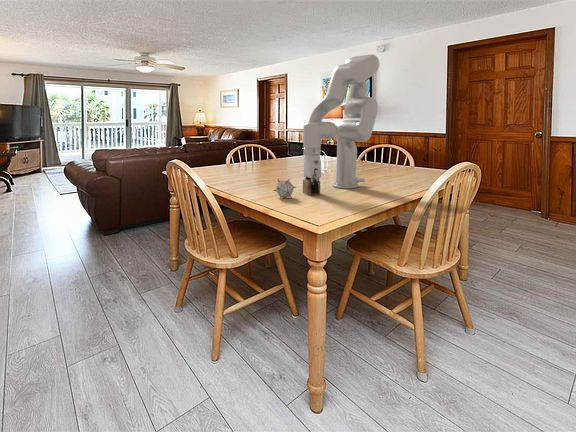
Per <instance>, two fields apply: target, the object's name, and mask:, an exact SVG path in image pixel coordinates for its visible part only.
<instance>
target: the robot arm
mask: <svg viewBox="0 0 576 432" xmlns="http://www.w3.org/2000/svg"><path fill="white" fill-rule="evenodd" d="M379 68H380V60H379V57H378V56H376V54H363V55H357V56H352V57H349V58H347V59H346V60H345V62H344V64H339V65H337V66H336V67H335V68H334V69H333V70H332V73H331V77H330V79H329V83H328V86H327V89H326V92H325V96H324V97H323V98H322V100H320V102H318V104H317V105H316V107H314V109H313V110H312V112H311V114H310V116H309V119H308V122H305V123H304V125H303V142H302V143H303V147H302V148H303V155H302V156H304V161H303V175H304V180H308V179H311V181H312V184H311V193H312V194H313V193H318V184H319V181H320V179H321V178H322V162H321V149H322V148H321V146H322V140H332V139H334V138H336V171H335V174H336V175H335V182H333V183H332V187H334V188H338V189H357V188H358V187H359V185H360V184H359V183H364V182H365V178H364V177H358V176H357V160H358V158H357V157H358V149H357V145H356V143H355V142H357V143H358V142H362V143H363V142H367V141H368V140H369V139H370V138H371V136H372V134H373V130H374V126H375V123H376V119H377V115H378V109H379V107H378V102H377V99H375V98H374V97H371V96H367V94H368V91H369V90H368V84H367V82H366V80H368V79H369V78H371V77H372V76H374V75H375V74H376V73H377V72H378V71H379ZM348 88H349V89H348ZM347 91H348V93H347ZM346 95H347V98H346ZM345 98H346V101H345ZM344 101H345V105H344V109H343V112H344V116H345V117H347V118H350V119H345V120H341V121H339V122H338V123H337V124H335V123H334V122H331V121H323V119H324V118H325V117H326V116H327V115H328V114H329V112H331V111H333V110H335V109H337V108H338V107H340V106H342V105H343V103H344ZM355 119H356V120H355ZM357 119H358V120H357ZM313 179H315V180H313Z"/></svg>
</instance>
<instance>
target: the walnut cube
mask: <svg viewBox="0 0 576 432" xmlns="http://www.w3.org/2000/svg"><path fill="white" fill-rule="evenodd" d="M313 180H315V179H313ZM311 184H312V181H311V179H308V180H305V179H302V194H304V195H306V196H317V195H318V196H319V195H321V181H320V180H319V184H318V193H313V194H312V193H311Z"/></svg>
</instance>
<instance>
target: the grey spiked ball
mask: <svg viewBox="0 0 576 432" xmlns="http://www.w3.org/2000/svg"><path fill="white" fill-rule="evenodd" d="M296 188H297V186H294V185H293V184H292V182H291V181H290V178H289V179H287V180H280V179H277V185H276V188H275V189H273V191H274V192H276V193H277V194H278V196H279V200H280V199H282V198H291V199H292V194H293V191H294V190H295V189H296Z"/></svg>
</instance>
